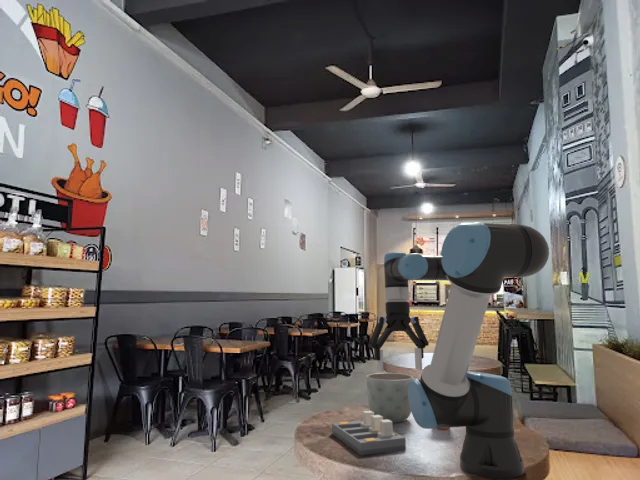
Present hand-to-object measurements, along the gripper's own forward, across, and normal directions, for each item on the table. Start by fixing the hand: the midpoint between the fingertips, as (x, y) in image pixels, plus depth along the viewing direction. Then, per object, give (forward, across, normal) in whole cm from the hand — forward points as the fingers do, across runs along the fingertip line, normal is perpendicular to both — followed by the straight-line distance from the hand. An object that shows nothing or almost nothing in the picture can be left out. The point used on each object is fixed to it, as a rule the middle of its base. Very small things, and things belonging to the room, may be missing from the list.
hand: (399, 370), depth 138 cm
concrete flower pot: (+20, -10, -24) cm, 33 cm away
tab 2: (+19, +6, -4) cm, 21 cm away
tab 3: (+19, +6, +2) cm, 20 cm away
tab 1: (+19, +6, -10) cm, 23 cm away
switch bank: (+21, +10, -4) cm, 23 cm away
